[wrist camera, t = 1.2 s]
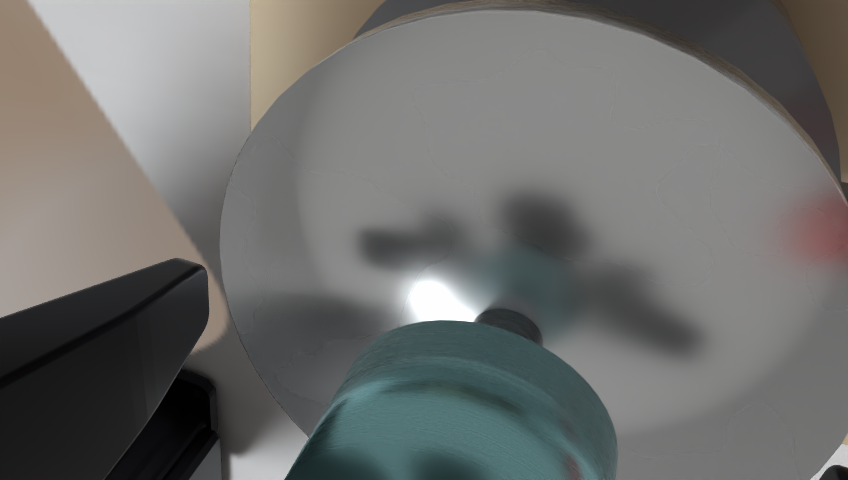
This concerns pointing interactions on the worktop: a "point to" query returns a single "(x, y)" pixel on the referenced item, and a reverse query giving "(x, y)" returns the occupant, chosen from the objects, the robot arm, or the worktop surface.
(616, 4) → the grey cylinder
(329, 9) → the oak board
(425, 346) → the pot lid
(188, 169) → the worktop surface
